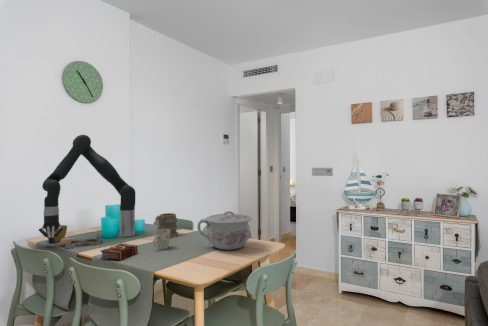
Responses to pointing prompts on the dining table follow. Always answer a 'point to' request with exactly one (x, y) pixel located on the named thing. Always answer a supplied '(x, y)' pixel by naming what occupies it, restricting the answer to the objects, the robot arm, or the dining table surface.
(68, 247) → the trap pads
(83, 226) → the dining table surface
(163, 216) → the tankard
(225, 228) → the chamber pot
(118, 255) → the decorative book
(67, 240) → the terracotta block
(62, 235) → the flower pot
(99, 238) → the lane
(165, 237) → the mug
